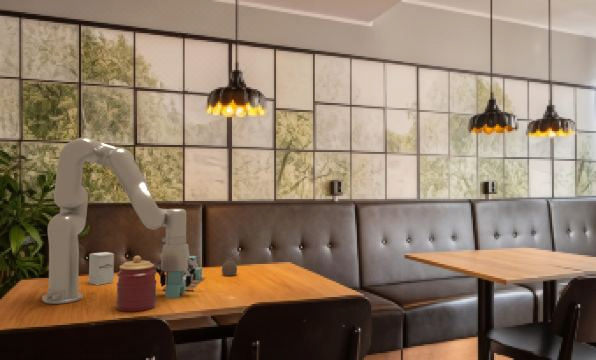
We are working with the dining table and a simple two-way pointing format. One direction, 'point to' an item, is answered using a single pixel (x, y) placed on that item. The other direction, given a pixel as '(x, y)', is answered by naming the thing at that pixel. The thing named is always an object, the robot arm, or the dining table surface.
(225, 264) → the vase
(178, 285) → the teal block toy
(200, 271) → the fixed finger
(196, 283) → the rail board
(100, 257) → the supplement box
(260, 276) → the dining table surface
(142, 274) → the canister
